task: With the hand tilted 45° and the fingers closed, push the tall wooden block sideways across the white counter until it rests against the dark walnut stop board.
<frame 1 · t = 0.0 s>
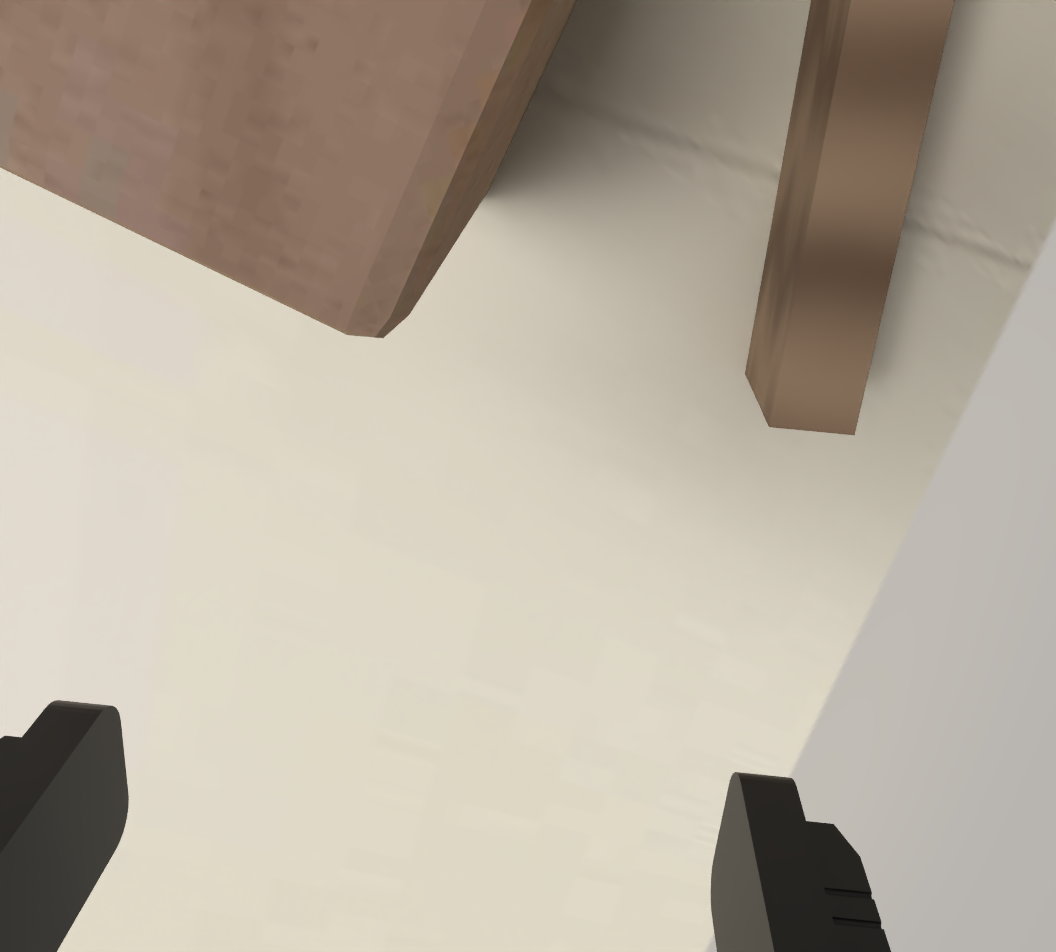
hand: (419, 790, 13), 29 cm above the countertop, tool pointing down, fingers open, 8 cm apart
wooden block: (414, 20, 37), on the countertop
stop board: (843, 58, 36), on the countertop
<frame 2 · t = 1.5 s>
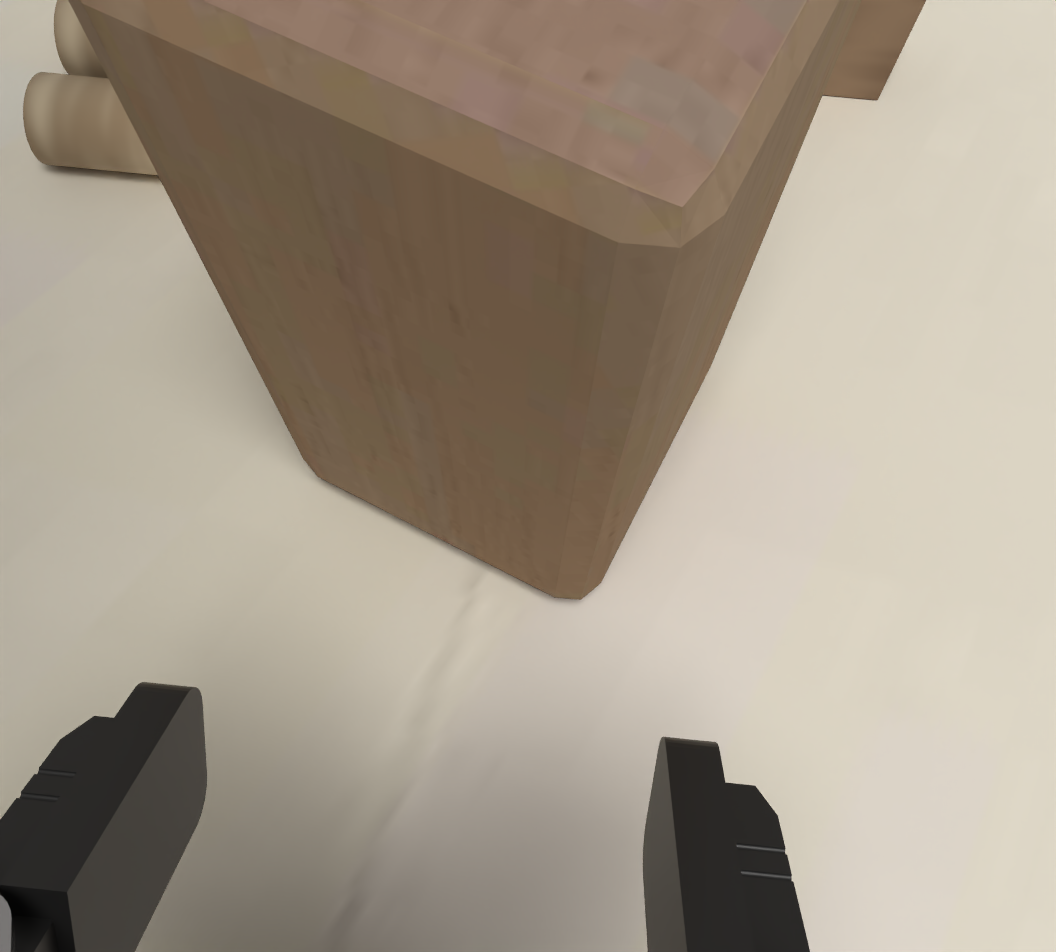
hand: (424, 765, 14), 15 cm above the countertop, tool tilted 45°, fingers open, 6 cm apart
wooden block: (512, 415, 33), on the countertop
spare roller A: (197, 174, 35), on the countertop, tilted 27°
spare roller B: (225, 75, 37), on the countertop
stop board: (556, 38, 38), on the countertop
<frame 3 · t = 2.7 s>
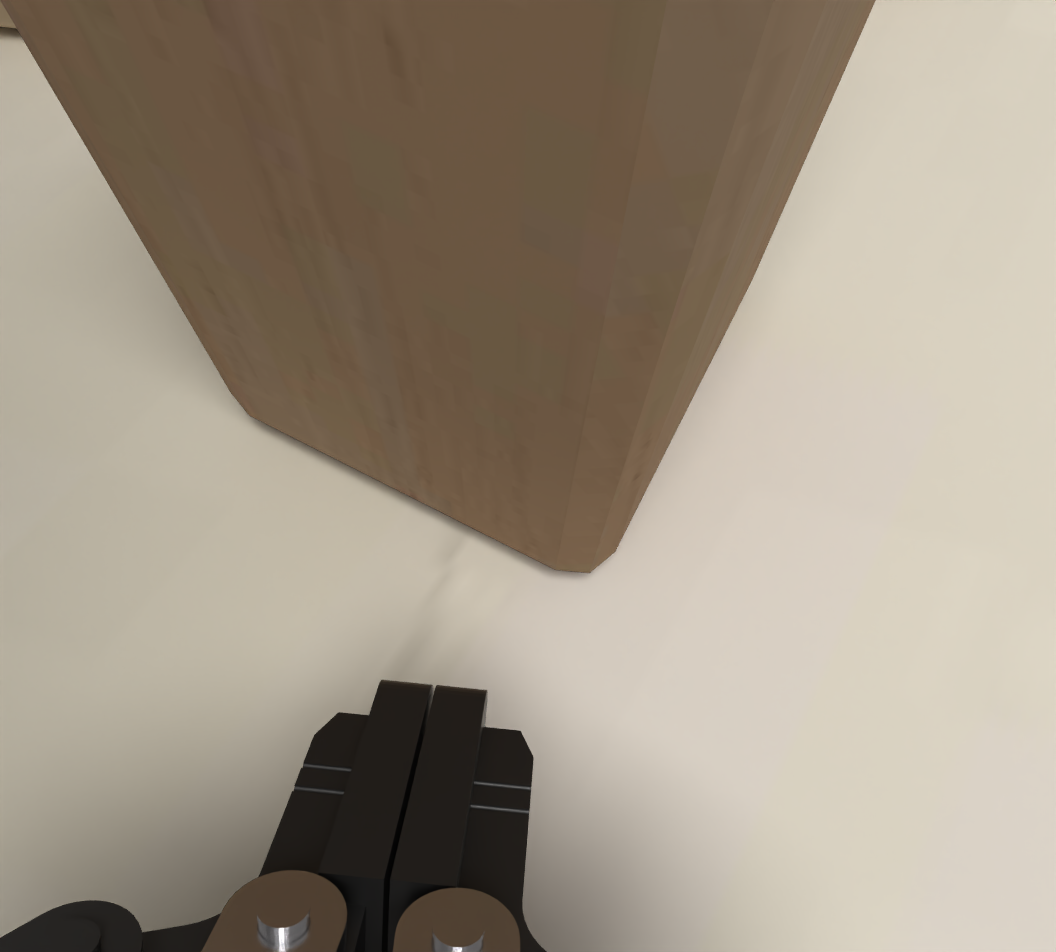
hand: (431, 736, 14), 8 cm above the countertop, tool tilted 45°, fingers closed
wooden block: (501, 343, 26), on the countertop
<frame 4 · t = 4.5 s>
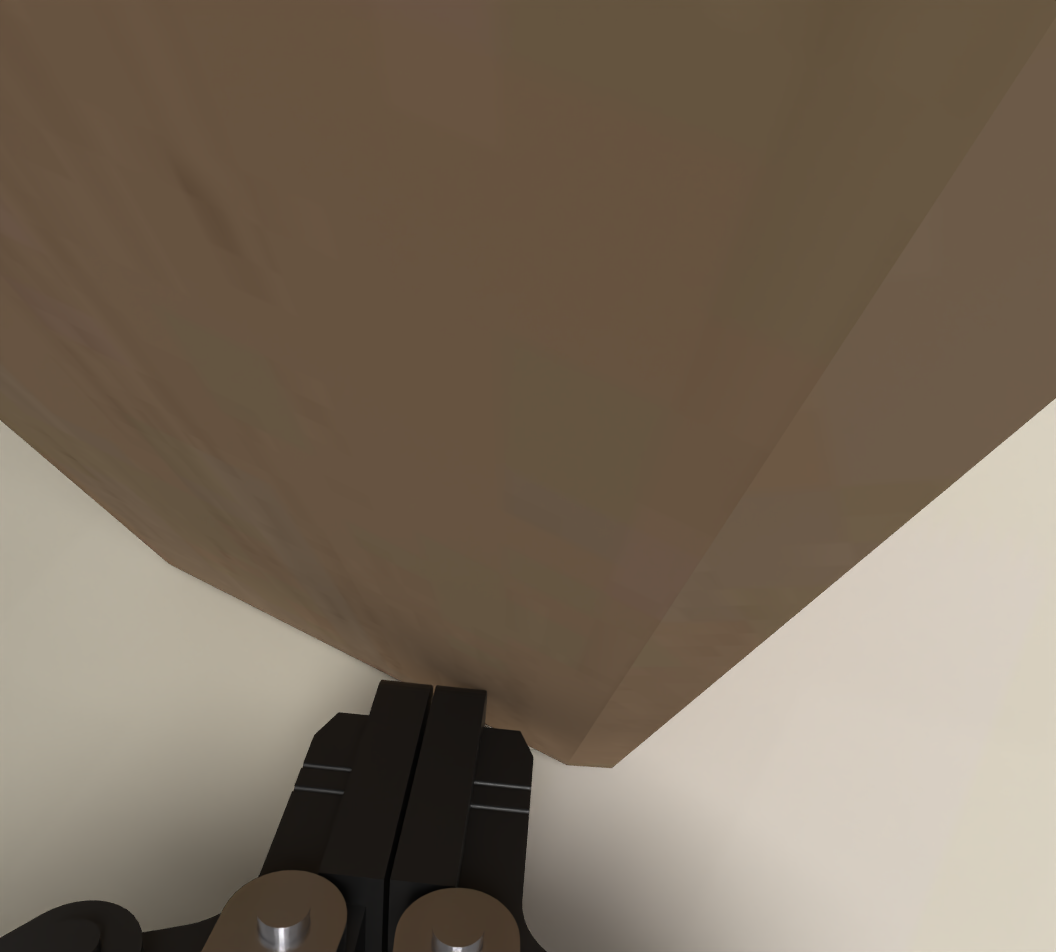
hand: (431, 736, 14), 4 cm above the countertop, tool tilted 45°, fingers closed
wooden block: (490, 450, 20), on the countertop, touching gripper
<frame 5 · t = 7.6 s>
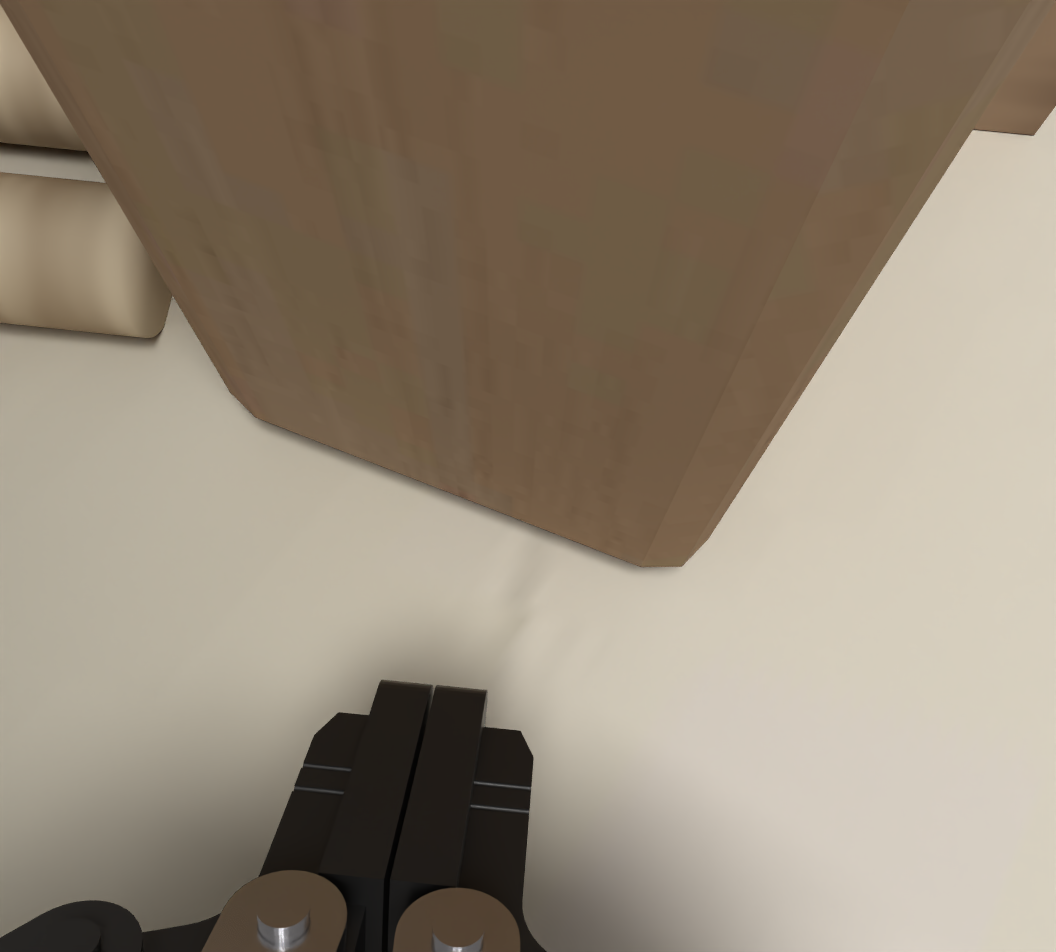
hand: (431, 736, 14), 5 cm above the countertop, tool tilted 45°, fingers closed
wooden block: (538, 309, 22), on the countertop
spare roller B: (11, 85, 24), on the countertop, tilted 29°
stop board: (533, 34, 24), on the countertop
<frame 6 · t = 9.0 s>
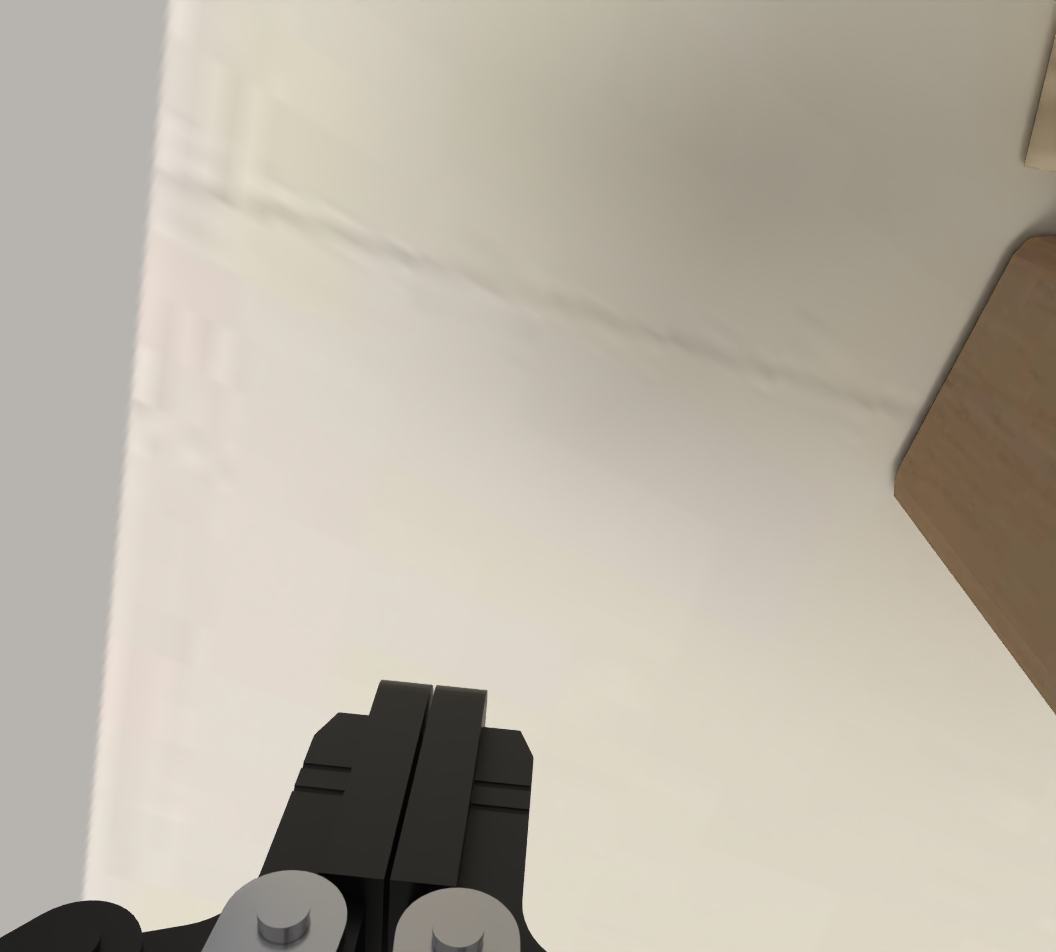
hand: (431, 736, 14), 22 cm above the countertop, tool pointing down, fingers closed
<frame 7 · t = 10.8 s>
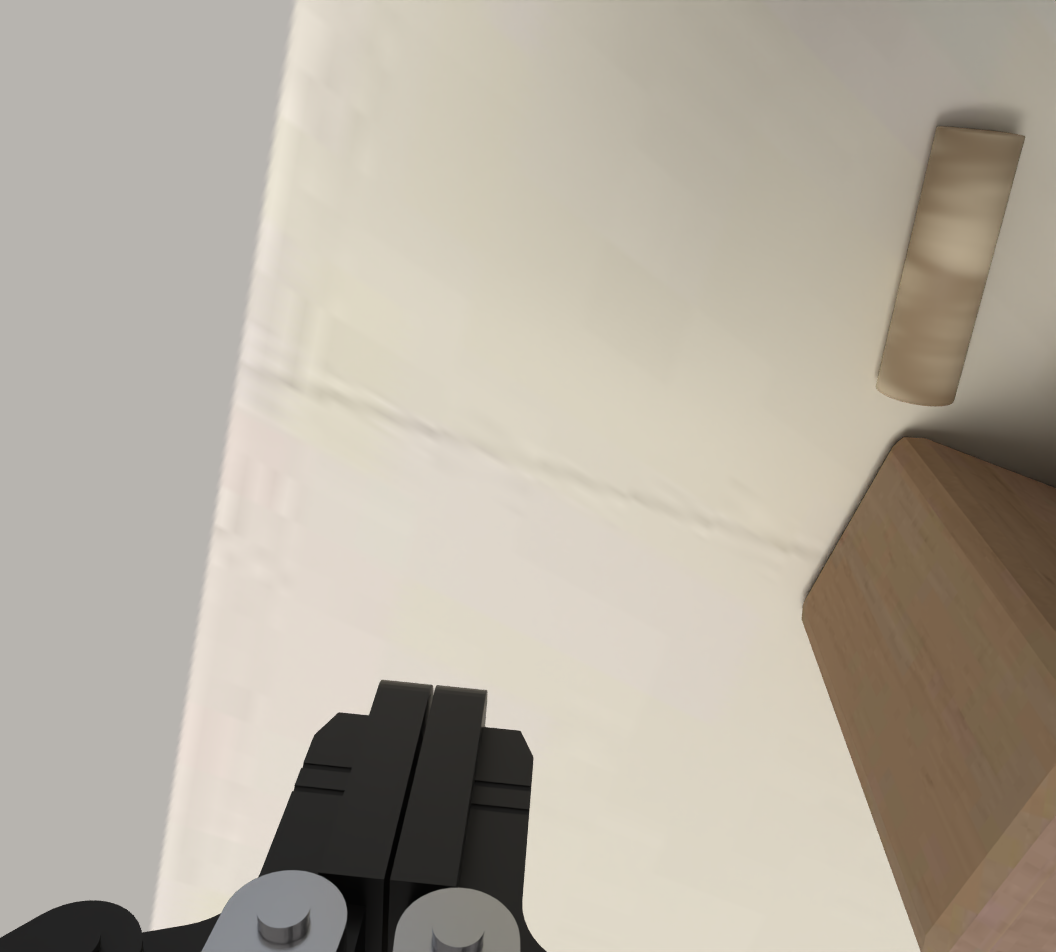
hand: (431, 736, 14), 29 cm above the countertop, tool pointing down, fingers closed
wooden block: (940, 555, 45), on the countertop
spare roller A: (981, 278, 37), point 2 cm above the countertop, tilted 141°
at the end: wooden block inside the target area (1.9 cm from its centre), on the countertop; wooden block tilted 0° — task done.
